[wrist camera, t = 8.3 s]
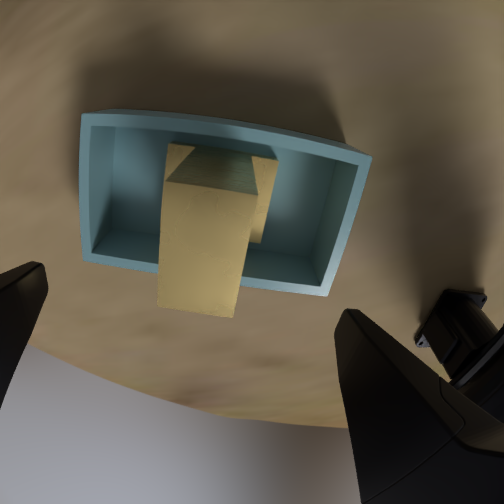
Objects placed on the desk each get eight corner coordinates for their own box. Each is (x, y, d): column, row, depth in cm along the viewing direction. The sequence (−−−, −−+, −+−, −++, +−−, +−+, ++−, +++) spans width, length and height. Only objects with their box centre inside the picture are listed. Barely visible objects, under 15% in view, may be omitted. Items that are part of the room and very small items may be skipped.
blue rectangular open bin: (346, 143, 17) (372, 156, 14) (313, 261, 21) (327, 296, 17) (112, 108, 15) (81, 113, 12) (107, 231, 19) (83, 260, 16)
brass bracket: (277, 157, 17) (304, 204, 10) (259, 236, 19) (270, 322, 12) (172, 141, 16) (120, 175, 9) (163, 221, 18) (121, 299, 11)
